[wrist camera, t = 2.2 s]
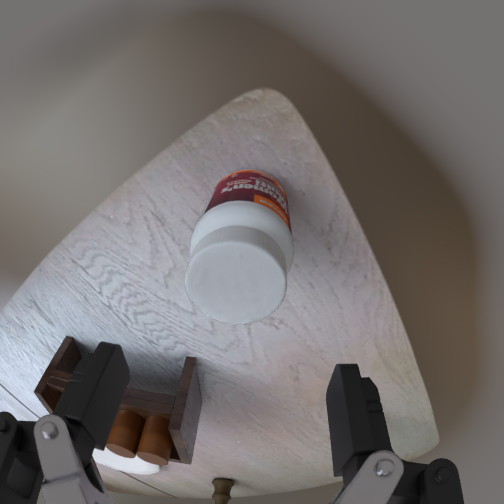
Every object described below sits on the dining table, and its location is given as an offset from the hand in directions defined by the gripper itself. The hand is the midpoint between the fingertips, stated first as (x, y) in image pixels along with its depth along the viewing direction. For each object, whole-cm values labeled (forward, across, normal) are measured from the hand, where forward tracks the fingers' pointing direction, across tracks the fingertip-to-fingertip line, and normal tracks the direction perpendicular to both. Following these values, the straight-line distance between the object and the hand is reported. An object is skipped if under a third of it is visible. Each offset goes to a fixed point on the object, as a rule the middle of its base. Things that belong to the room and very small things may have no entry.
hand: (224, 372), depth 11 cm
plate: (+17, +30, +57) cm, 66 cm away
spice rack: (+17, +15, +24) cm, 33 cm away
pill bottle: (+17, 0, 0) cm, 17 cm away
